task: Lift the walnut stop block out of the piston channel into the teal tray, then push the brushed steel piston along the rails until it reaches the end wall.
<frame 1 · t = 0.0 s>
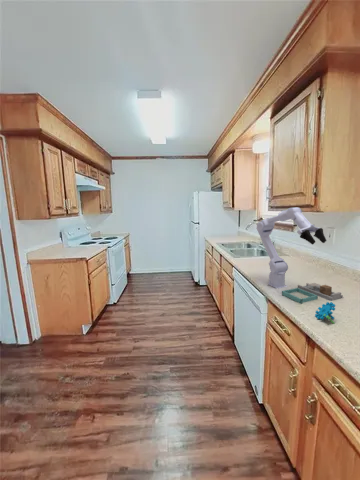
hand: (319, 242, 120), 32 cm above the countertop, tool tilted 50°, fingers open, 7 cm apart
piston housing: (318, 293, 137), on the countertop
piston: (313, 287, 139), point 3 cm above the countertop, slide at 0.0 cm
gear: (325, 319, 108), on the countertop
stop block: (325, 294, 133), point 1 cm above the countertop, touching piston housing
tray: (299, 297, 132), on the countertop
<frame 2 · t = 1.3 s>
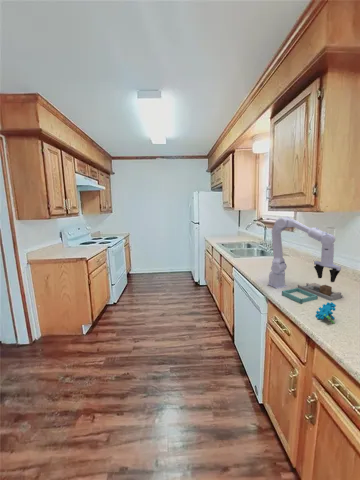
hand: (326, 279, 131), 9 cm above the countertop, tool pointing down, fingers open, 7 cm apart
nothing on the countertop moved.
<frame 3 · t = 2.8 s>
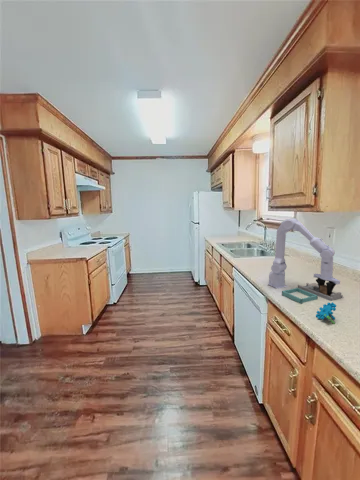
hand: (325, 292, 133), 2 cm above the countertop, tool pointing down, fingers closed on stop block, 4 cm apart
stop block: (325, 294, 133), point 1 cm above the countertop, touching gripper, piston housing
everything else where it was.
when the fingers open (3 cm above the countertop, at t = 6.4 s): stop block drops 1 cm, resting on tray.
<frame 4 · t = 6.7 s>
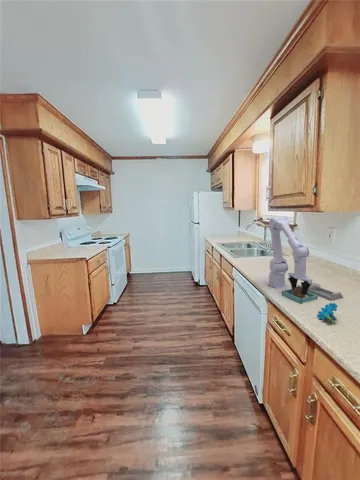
hand: (299, 292, 132), 3 cm above the countertop, tool pointing down, fingers open, 6 cm apart
stop block: (299, 296, 132), resting on tray
everything else where it was.
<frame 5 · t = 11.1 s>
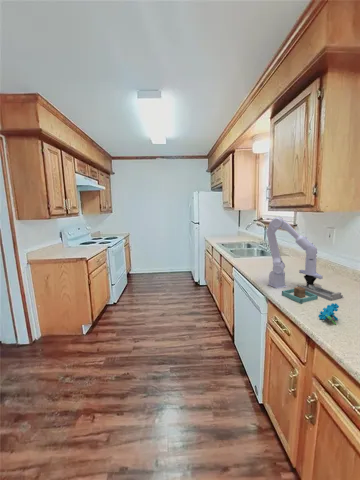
hand: (309, 287, 142), 2 cm above the countertop, tool pointing down, fingers closed
piston: (314, 287, 139), point 3 cm above the countertop, slide at 0.7 cm, touching gripper
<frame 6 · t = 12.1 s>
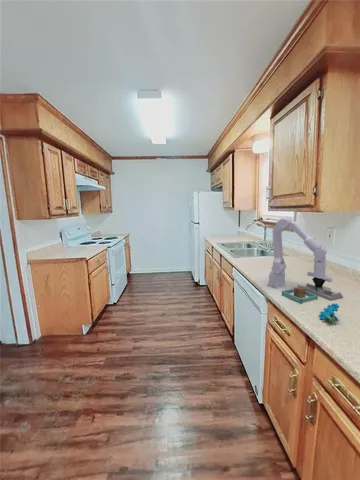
hand: (318, 290, 137), 2 cm above the countertop, tool pointing down, fingers closed
piston: (323, 291, 133), point 3 cm above the countertop, slide at 6.5 cm, touching gripper
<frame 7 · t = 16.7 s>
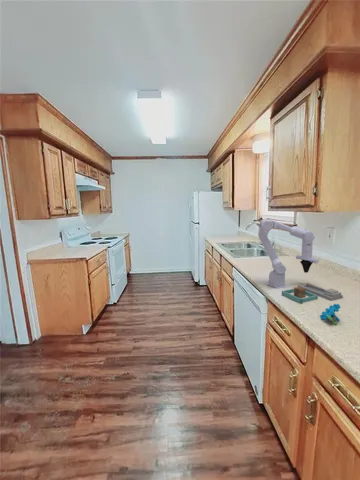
hand: (306, 272, 147), 9 cm above the countertop, tool pointing down, fingers closed
piston: (331, 293, 129), point 3 cm above the countertop, slide at 10.8 cm
at the end: piston slide at 10.8 cm; stop block inside the target area on the tray (0.2 cm from its centre), point 0.5 cm above the tray's base; the gripper is holding nothing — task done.
